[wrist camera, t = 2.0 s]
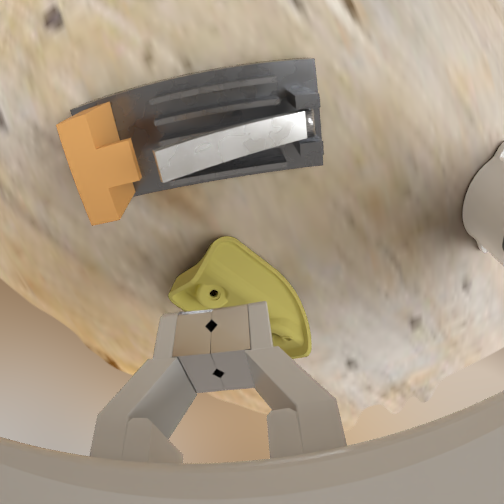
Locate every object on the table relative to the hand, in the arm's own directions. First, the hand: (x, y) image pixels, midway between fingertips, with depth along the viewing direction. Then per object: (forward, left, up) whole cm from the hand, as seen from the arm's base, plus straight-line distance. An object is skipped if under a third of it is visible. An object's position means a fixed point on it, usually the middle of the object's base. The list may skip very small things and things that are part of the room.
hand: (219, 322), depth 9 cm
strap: (-1, 0, -19) cm, 19 cm away
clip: (+11, 0, -24) cm, 26 cm away
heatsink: (+3, 0, -27) cm, 27 cm away
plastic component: (+2, +24, -28) cm, 37 cm away
